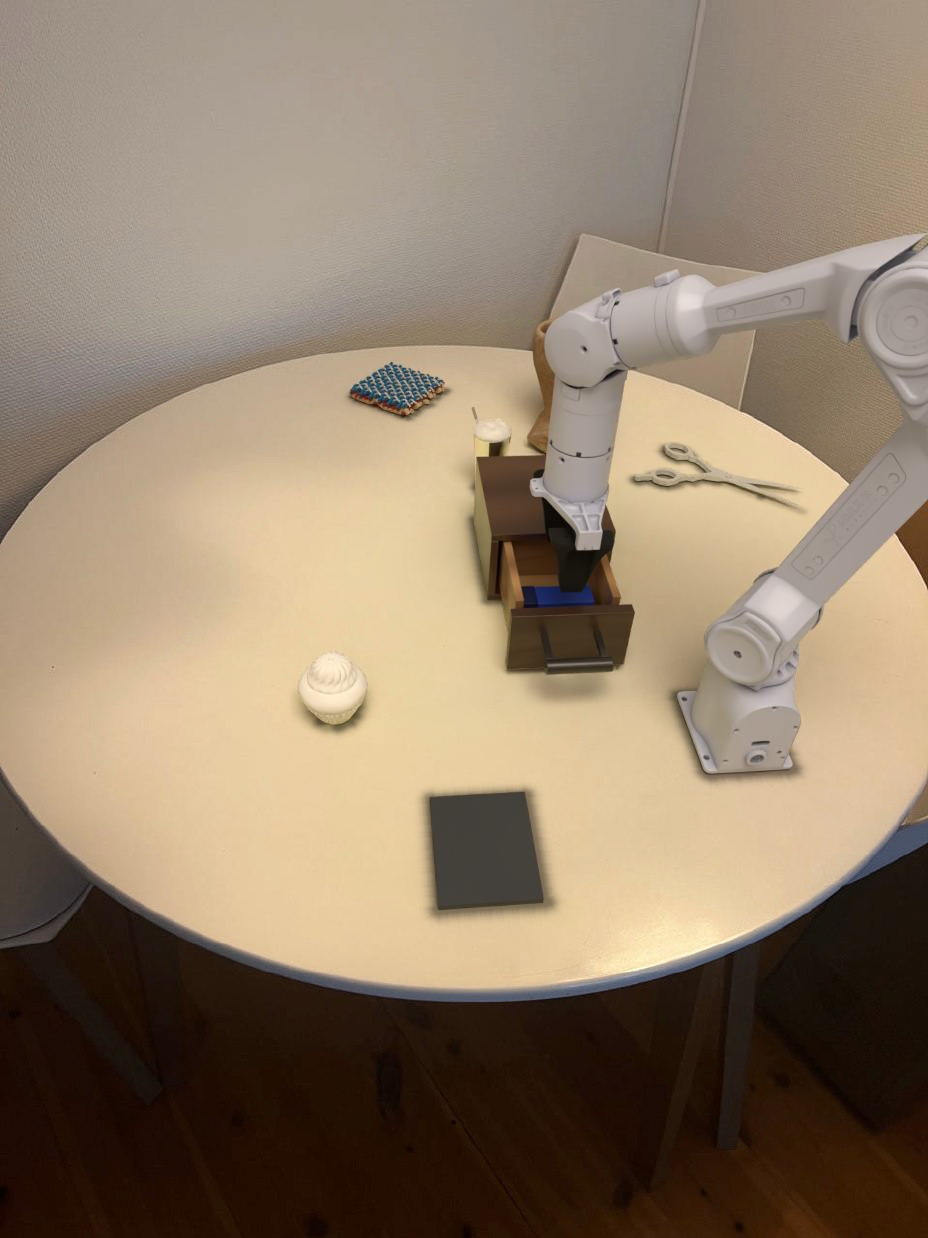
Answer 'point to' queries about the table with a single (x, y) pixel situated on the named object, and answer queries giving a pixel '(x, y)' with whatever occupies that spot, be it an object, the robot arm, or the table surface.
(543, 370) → the stone cup
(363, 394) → the woven mat
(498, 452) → the milkshake
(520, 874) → the desk pad
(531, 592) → the block
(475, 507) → the cabinet
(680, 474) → the scissors
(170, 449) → the table surface
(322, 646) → the table surface
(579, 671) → the drawer
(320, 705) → the muffin
